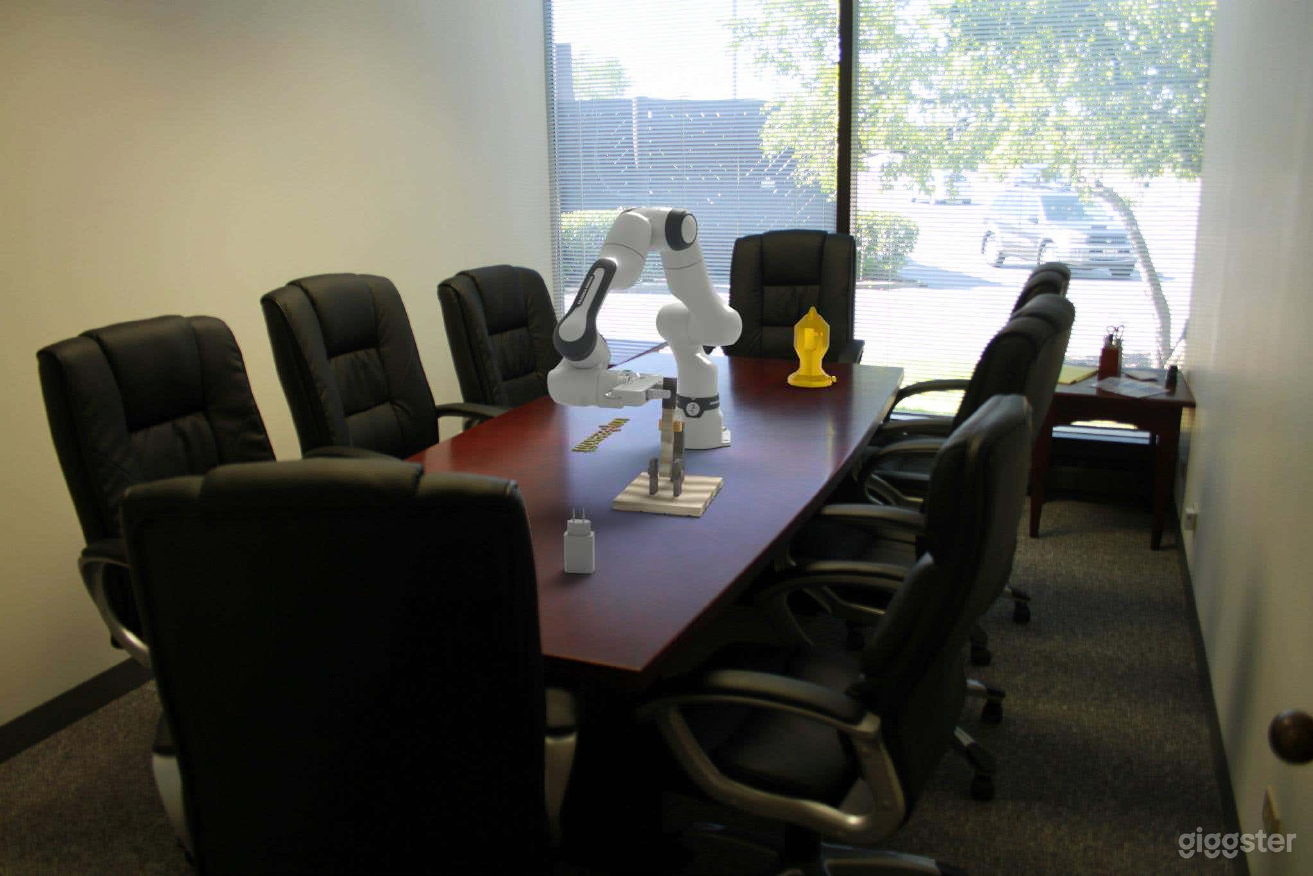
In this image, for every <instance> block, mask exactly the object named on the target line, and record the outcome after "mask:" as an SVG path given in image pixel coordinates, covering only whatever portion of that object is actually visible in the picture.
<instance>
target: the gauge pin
mask: <svg viewBox="0 0 1313 876" xmlns="http://www.w3.org/2000/svg"><path fill="white" fill-rule="evenodd" d="M661 425H662V418H660V419H659V420H658V431H660V432H661ZM681 431H682V415H676V416H675V424H674V432H681Z"/></svg>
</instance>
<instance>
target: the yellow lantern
mask: <svg viewBox="0 0 1313 876" xmlns="http://www.w3.org/2000/svg"><path fill="white" fill-rule="evenodd" d="M830 327H831V326H830V324H828V322H827V321H825V319H824V318H823V317H822V315H820V314H818V312H817V309H816V307H814V306H810V308H809V311H808V313H807V314H805V315H803V317H802V318H801V319H800V320H799V321H798V322H797V323H796V324H795V325H794V328H793V329H794V330H793V331H794V334H793V336H794V337H793V347H794V350H795V351H796V354H797V356H798V358H799V368H798V369H797V371H795V372H793V373H792V374H789V376H788V377H787V383H788V384H789V385H791V386H795V387H799V388H800V387H801V388H826V387H828V386H832V384H833V383H836V382H837V377H836V376H830V375H829V374H827V373H826V372H825V370H824V369H823V368H822V359H823V358H824V356H825V354H826V353H827V351H828V349H829V347H830V329H831V328H830Z"/></svg>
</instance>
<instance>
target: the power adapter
mask: <svg viewBox="0 0 1313 876" xmlns="http://www.w3.org/2000/svg"><path fill="white" fill-rule="evenodd" d="M585 515H586V513H585V508H583V509H582V519H578V518H577V519H576V518H575V517H576V513H575V508H572V519H568V520H567V521H566V522H567V529H566V530H565V532H564V534H563V550H564V552H563V553H564V557H563V558H564V572H565V573H567V574H568V573H569V574H570V573H571V574H573V573H574V574H593V573H594V572H595V570H596V560H595V559H596V557H595V555H596V552H595V549H596V548H595V544H596V543H595V531H592V530H591V529H592V528H591V526H592V524H591V520H588V519H585V518H586V516H585Z"/></svg>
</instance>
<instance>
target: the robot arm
mask: <svg viewBox="0 0 1313 876" xmlns="http://www.w3.org/2000/svg"><path fill="white" fill-rule="evenodd" d="M698 230H699V229H698V222H697V219H696V216H694V214H693V212H692V211H690V210H689V209H687V208H683V207H679V206H676V207H675V206H674V207H670V206H663V205H662V206H660V205H659V206H649V207H640V208H637V207H632V208H627V209H625V210H623V211H621V212H620V214H619V215H618V216H617V217H616V219H615V220H614V221H613V223H612V225H611V226H610V228H609V230H608V232H607V234H606V236H605V239H604V241H603V244H602V245H601V248H600V251H599V254H598V256H597V258H596V260H595V261H594V263H592V265H591V266H590V268H589V270H588V271H587V273H586V274H585V277H584V279H583V281H582V283H581V285H580V287H579V289H578V292H577V293H576V295H575V297H574V300H573V302H572V304H571V306H570V308H569V309H568V310H567V312H566V313H565V315H563V317H562V318H561V319H560V320H559V321H558V322H557V324H556V325H555V327H554V330H553V333H552V343H553V347H554V348H555V350H556V351H557V352H558V353H559V354H560V355H561V356H563V358H562V359H561V360H560V362H559V363H558V365H557V366H555V368H554V369H551V370H550V371H549V372H548V374H547V376H546V377H547V379H546V384H547V386H546V387H547V390H548V394H549V397H550V398H551V399H552V400H553V401H554V402H555V403H556V404H560V405H562V406H563V405H565V406H570V407H581V408H587V407H591V406H593V407H597V408H600V409H620V410H621V409H623V408H624V407H633V408H634V407H635V408H636V407H637V408H638V407H643V406H644V405H645V404H647V403H649V402H650V401H651V400H658V399H661V400H662V398H670V397H671V390H669V389H668V390H667V389H663V377H664V376H662V375H658V374H654V373H653V374H652V373H642V372H634V371H633V370H631V369H608V368H609V365H610V361H611V357H612V356H611V350H610V347H609V345H608V344H607V342H606V340H605V339H604V338H603V337H602V335H601V333H600V332H599V330H598V327H597V319H598V316H599V314H600V311H601V309H602V307H603V305H604V303H605V300H606V298H607V296H608V294H609V292H610V291H619V292H620V291H627V290H629V289H631V288H632V287H634V286H635V285H636V283H637V282H638V281H639V278H640V276H641V274H642V273H643V270H644V266H645V264H646V261H647V257H648V254H649V253H657V252H659V256H660V260H661V264H662V268H663V269H662V270H663V272H664V276H665V279H666V284H667V289H668V291H669V292H670V294H671V295H672V296H673V297H674V298H676V299H677V300H679V301H680V302H677V303H676V302H675V303H670V304H666V305H665V304H664V305H663V306H662V307H661V308H660V309H659V311H658V313H657V315H656V319H655V327H656V331H657V333H658V334H659V336H660V337H661V338H662V339H663V340H664V341H665V342H666V343H667V344H668V346H669V348H670V350H671V353H672V354H673V358H674V360H675V364H676V369H677V371H676V372H677V373H676V374H677V397H676V409H675V416H676V415H682V422H685V449H693V450H704V449H705V450H707V449H714V448H720V447H729V446H731V442H732V441H731V439H732V438H731V433H732V432H731V430H729V429H727V428H726V427H725V426H724V415H723V412H722V410H721V408H720V405H721V404H720V402H721V400H720V392H719V391H718V388H719V387H718V386H719V382H718V381H719V370H718V366H717V363H716V362H715V361H714V360H712V359H711V358H710V357H709V356H708V355H707V353H706V352H705V350H704V346H708V347H723V346H730V345H734V344H735V343H736V342H737V341H738V340H739V339H740V337H741V334H742V330H743V322H742V318H741V316H740V314H739V312H738V311H737V310H735V309H733V308H732V307H730V306H729V304H728V303H727V302H725V301H724V300H723V298H721V296H720V294H719V293H718V292H717V290H716V289H715V287H714V285H713V283H712V281H711V278H710V275H709V272H708V269H707V264H706V260H705V256H704V251H703V249H702V248H703V247H702V244H701V241H700V238H699V235H698Z"/></svg>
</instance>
